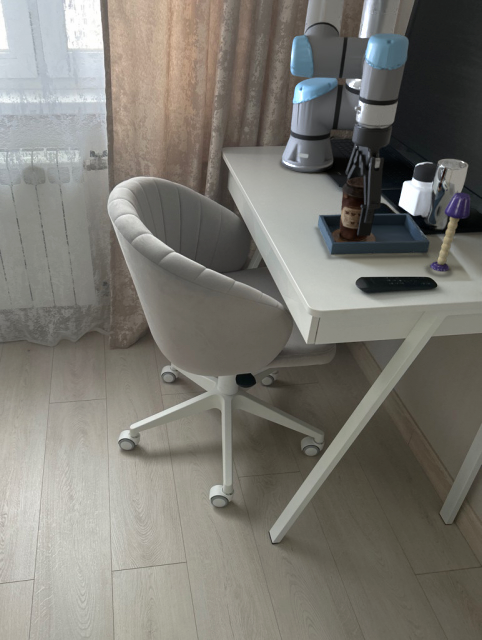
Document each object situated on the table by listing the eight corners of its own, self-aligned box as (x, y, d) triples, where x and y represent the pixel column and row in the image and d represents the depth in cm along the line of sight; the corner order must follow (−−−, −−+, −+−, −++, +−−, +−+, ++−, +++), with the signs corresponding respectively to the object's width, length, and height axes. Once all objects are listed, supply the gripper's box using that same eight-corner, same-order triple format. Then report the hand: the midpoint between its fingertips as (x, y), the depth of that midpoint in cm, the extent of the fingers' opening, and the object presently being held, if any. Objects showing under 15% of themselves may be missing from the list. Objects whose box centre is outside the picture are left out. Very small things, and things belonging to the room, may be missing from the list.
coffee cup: (372, 247, 127) (383, 190, 118) (334, 244, 128) (343, 187, 120) (371, 230, 133) (382, 175, 125) (335, 227, 135) (343, 173, 126)
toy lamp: (429, 263, 123) (450, 188, 113) (451, 267, 122) (475, 192, 111) (427, 273, 120) (448, 197, 109) (450, 277, 119) (474, 201, 108)
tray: (317, 228, 137) (319, 214, 135) (405, 226, 138) (408, 213, 135) (330, 258, 126) (332, 243, 123) (426, 256, 126) (430, 241, 124)
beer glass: (415, 222, 139) (430, 161, 130) (437, 217, 142) (454, 156, 132) (434, 233, 135) (452, 170, 125) (457, 228, 137) (476, 166, 127)
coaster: (327, 229, 135) (327, 228, 134) (368, 228, 135) (369, 227, 135) (336, 248, 127) (336, 247, 127) (380, 247, 127) (380, 246, 127)
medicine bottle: (437, 215, 142) (450, 168, 135) (412, 219, 141) (424, 171, 133) (421, 204, 148) (433, 158, 140) (397, 208, 146) (407, 161, 138)
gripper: (341, 106, 124) (328, 199, 138) (371, 143, 105) (352, 247, 119) (375, 106, 124) (359, 199, 138) (411, 142, 105) (388, 246, 119)
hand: (356, 221), depth 128 cm, fingers open, 13 cm apart
